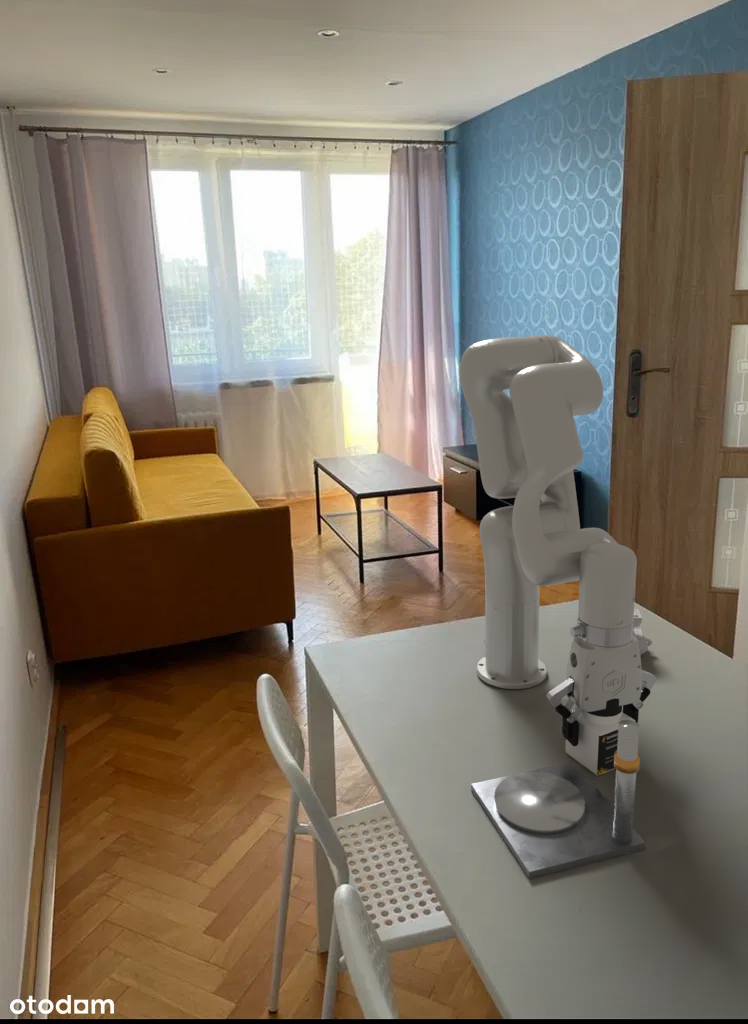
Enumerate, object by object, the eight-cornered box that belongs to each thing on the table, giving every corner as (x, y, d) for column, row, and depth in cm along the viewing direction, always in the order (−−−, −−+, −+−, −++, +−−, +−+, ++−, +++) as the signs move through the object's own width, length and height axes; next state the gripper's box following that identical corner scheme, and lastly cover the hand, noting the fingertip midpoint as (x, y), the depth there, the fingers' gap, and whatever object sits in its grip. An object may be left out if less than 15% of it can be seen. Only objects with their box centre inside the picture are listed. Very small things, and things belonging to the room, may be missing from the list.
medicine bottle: (597, 777, 112) (601, 703, 109) (564, 752, 118) (566, 682, 115) (634, 762, 115) (638, 690, 112) (599, 738, 121) (603, 669, 118)
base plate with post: (471, 789, 110) (470, 682, 106) (572, 767, 114) (576, 663, 110) (528, 878, 94) (531, 756, 89) (644, 849, 98) (653, 730, 93)
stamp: (648, 645, 151) (651, 605, 148) (654, 661, 144) (657, 619, 142) (600, 643, 152) (602, 603, 150) (604, 659, 146) (606, 618, 144)
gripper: (563, 650, 105) (559, 760, 110) (674, 631, 109) (666, 737, 114) (537, 628, 112) (535, 732, 117) (642, 610, 116) (636, 711, 121)
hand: (599, 734), depth 116 cm, fingers open, 9 cm apart
